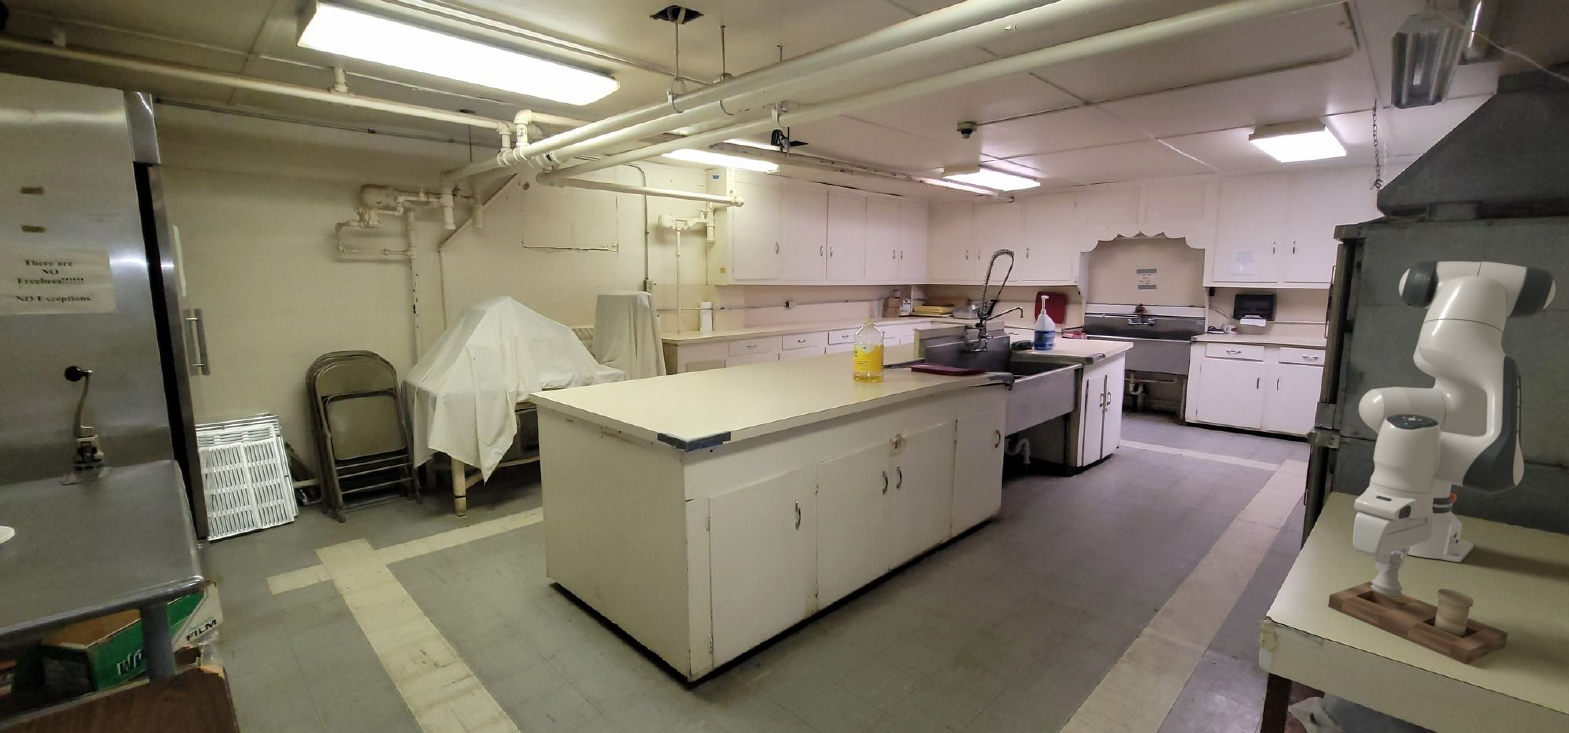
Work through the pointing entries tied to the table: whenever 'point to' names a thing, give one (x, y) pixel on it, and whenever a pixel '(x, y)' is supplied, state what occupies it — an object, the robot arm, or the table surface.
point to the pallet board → (1423, 620)
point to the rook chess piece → (1389, 579)
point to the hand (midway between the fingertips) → (1388, 568)
